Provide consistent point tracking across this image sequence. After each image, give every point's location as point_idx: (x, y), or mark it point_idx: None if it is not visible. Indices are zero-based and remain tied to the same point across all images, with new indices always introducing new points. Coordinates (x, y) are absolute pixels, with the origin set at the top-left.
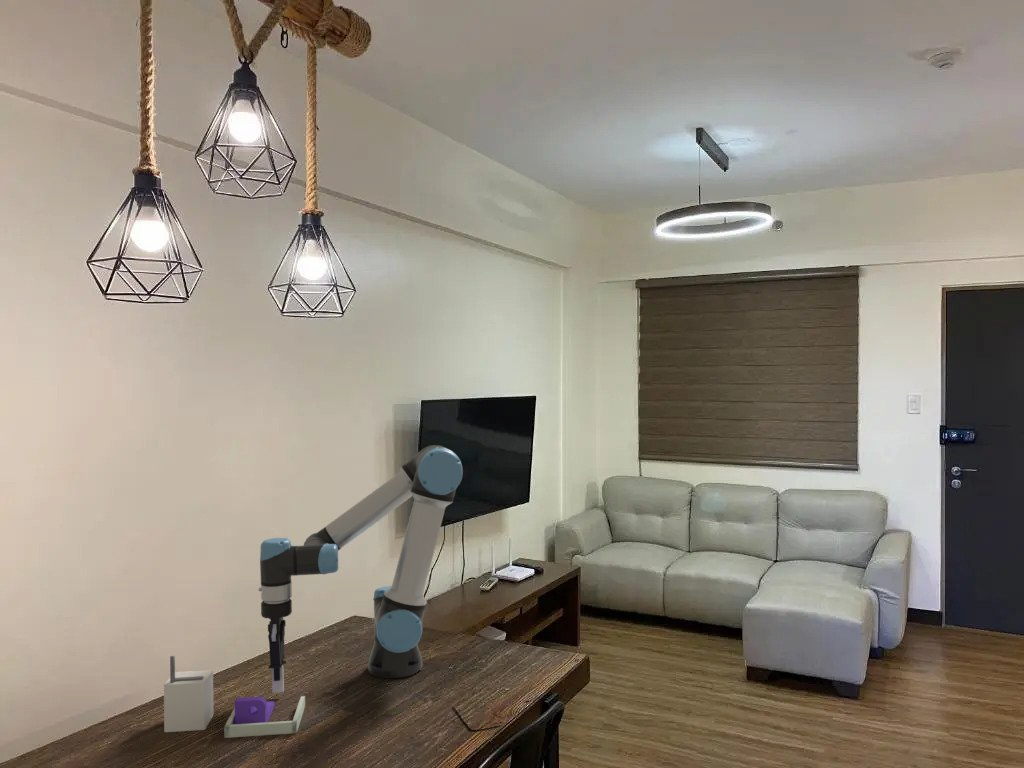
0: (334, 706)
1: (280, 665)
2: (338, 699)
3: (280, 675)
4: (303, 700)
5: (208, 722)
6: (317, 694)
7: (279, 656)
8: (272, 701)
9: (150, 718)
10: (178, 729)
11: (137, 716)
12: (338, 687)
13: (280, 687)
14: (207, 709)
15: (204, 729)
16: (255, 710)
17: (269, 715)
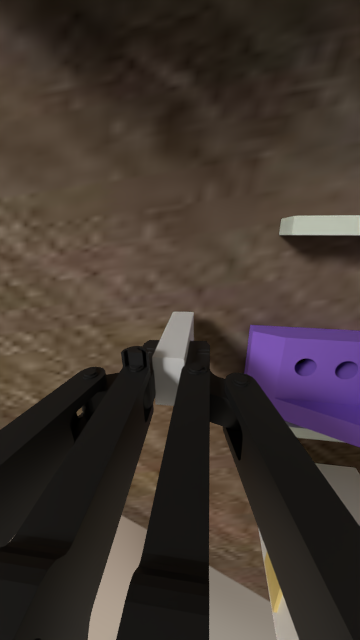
0: (327, 72)
1: (255, 383)
2: (248, 63)
3: (188, 347)
4: (345, 216)
5: (319, 465)
6: (176, 182)
7: (298, 444)
8: (287, 338)
9: (246, 544)
10: None
11: (230, 558)
12: (113, 89)
13: (192, 326)
14: (349, 507)
15: (355, 468)
16: (348, 382)
17: (346, 332)
